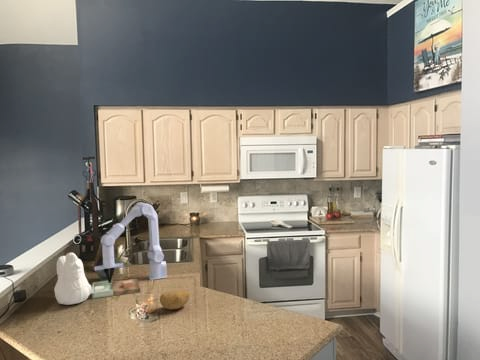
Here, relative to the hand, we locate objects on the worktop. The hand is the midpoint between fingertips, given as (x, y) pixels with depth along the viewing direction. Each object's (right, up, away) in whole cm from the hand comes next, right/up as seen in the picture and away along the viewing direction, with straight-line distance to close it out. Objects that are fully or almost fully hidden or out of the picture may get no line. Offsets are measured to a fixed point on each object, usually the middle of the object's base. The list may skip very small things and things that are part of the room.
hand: (109, 282), depth 203 cm
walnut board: (+9, -3, -2) cm, 10 cm away
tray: (-1, -3, -6) cm, 7 cm away
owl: (-15, -1, +35) cm, 38 cm away
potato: (+40, -4, -30) cm, 50 cm away
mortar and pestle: (-7, -2, +14) cm, 15 cm away
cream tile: (-3, -3, -7) cm, 8 cm away
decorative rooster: (-13, -5, -16) cm, 21 cm away
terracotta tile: (+11, -1, -4) cm, 12 cm away
